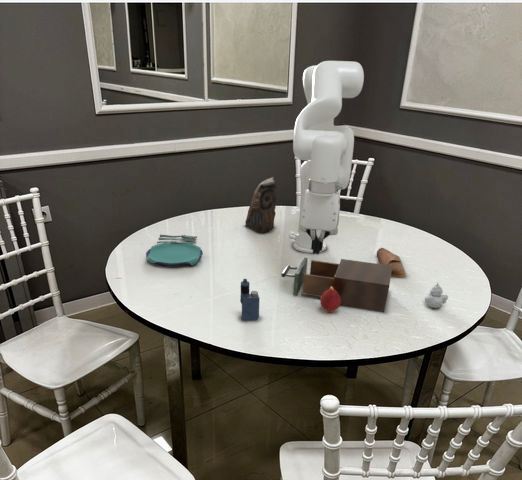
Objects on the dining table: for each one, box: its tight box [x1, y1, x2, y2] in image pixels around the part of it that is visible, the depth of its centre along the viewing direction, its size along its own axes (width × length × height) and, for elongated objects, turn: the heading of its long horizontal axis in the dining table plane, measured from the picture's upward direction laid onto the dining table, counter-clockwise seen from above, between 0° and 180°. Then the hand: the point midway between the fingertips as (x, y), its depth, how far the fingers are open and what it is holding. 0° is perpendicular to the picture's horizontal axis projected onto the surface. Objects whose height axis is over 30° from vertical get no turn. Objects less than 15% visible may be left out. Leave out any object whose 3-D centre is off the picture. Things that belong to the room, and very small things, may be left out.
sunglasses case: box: [376, 247, 407, 278], centre depth 166 cm, size 18×7×7 cm
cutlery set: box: [145, 234, 204, 267], centre depth 171 cm, size 20×30×2 cm, turn 2°
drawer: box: [280, 256, 340, 297], centre depth 146 cm, size 20×14×7 cm
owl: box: [244, 176, 278, 235], centre depth 191 cm, size 13×13×20 cm
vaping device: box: [239, 278, 260, 322], centre depth 129 cm, size 3×5×12 cm, turn 95°
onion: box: [320, 287, 341, 313], centre depth 135 cm, size 6×6×8 cm
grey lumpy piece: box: [424, 282, 449, 309], centre depth 140 cm, size 5×7×8 cm
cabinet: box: [333, 258, 392, 313], centre depth 143 cm, size 16×15×9 cm
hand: (316, 252), depth 135 cm, fingers closed
